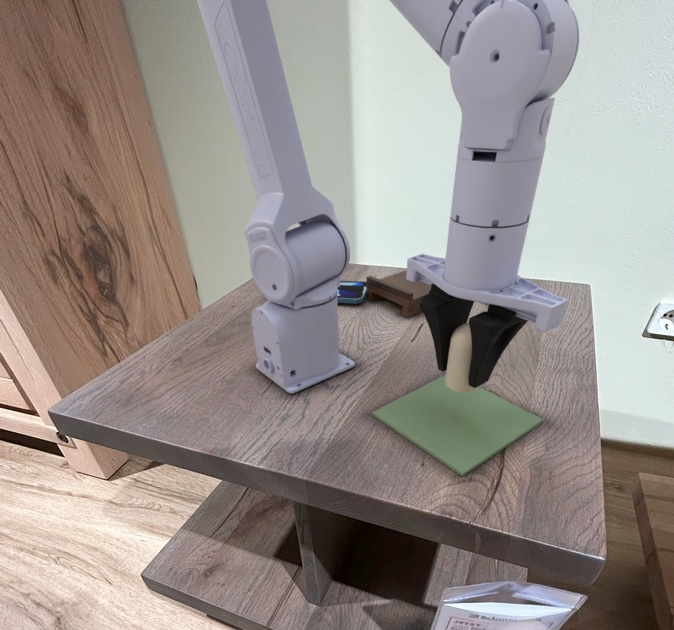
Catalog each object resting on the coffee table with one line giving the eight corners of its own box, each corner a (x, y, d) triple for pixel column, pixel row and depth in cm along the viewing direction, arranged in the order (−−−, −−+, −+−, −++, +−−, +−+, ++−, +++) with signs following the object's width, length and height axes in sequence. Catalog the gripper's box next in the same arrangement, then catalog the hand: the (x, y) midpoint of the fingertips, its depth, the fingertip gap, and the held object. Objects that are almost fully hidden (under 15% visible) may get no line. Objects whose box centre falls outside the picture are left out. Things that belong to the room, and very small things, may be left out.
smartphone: (283, 278, 75) (371, 281, 72) (284, 283, 76) (371, 287, 73) (267, 295, 70) (361, 299, 67) (268, 301, 71) (361, 305, 67)
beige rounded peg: (463, 396, 42) (474, 336, 38) (437, 382, 44) (445, 324, 40) (486, 384, 43) (498, 325, 39) (459, 371, 45) (469, 313, 41)
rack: (407, 318, 64) (409, 294, 62) (366, 299, 70) (366, 276, 67) (455, 299, 69) (458, 275, 66) (412, 283, 74) (414, 260, 72)
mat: (462, 476, 40) (462, 473, 39) (371, 415, 47) (372, 412, 47) (542, 422, 45) (543, 419, 45) (450, 374, 52) (450, 371, 52)
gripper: (612, 225, 31) (557, 391, 40) (450, 193, 40) (434, 335, 49) (553, 248, 28) (507, 423, 37) (392, 208, 37) (386, 357, 46)
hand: (462, 374), depth 43 cm, fingers closed on beige rounded peg, 3 cm apart
